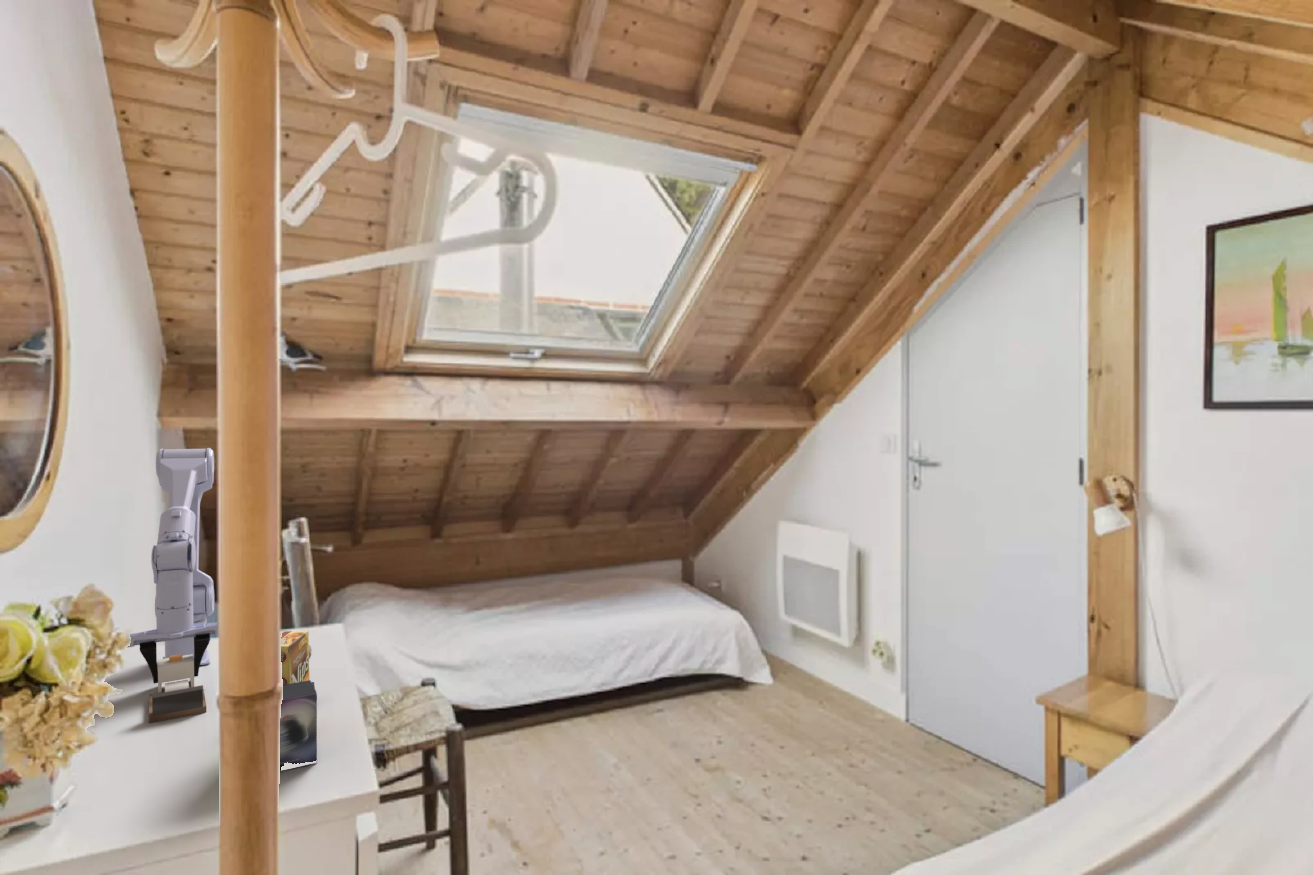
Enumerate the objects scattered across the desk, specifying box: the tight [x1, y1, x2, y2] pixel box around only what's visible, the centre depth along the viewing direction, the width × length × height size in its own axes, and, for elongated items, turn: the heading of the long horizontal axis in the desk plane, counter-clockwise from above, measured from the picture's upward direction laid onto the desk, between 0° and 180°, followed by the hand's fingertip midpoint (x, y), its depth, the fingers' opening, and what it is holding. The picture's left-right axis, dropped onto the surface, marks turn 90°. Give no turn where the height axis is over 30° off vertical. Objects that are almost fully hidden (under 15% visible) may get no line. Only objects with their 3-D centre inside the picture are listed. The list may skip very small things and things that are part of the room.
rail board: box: [148, 679, 207, 724], centre depth 125 cm, size 12×8×4 cm, turn 35°
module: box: [157, 654, 195, 693], centre depth 134 cm, size 5×6×6 cm
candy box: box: [281, 630, 310, 685], centre depth 113 cm, size 9×4×15 cm, turn 8°
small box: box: [280, 679, 318, 772], centre depth 103 cm, size 11×6×10 cm, turn 123°
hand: (176, 678), depth 134 cm, fingers closed on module, 5 cm apart
